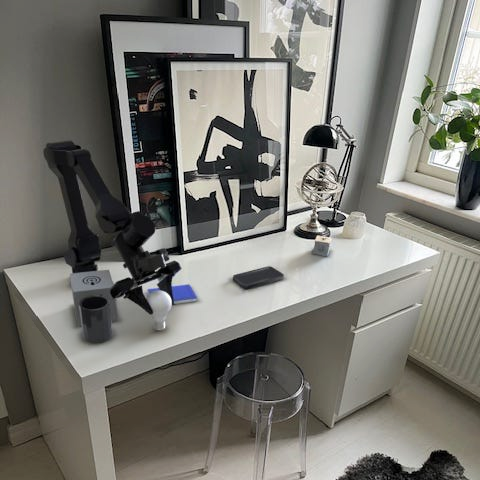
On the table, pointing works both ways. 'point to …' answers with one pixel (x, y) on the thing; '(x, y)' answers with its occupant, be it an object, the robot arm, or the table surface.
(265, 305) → the table surface
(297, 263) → the table surface
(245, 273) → the phone
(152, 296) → the lightbulb
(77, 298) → the icon cube
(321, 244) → the dice cube
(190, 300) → the hard drive
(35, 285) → the table surface
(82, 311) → the pen cup
